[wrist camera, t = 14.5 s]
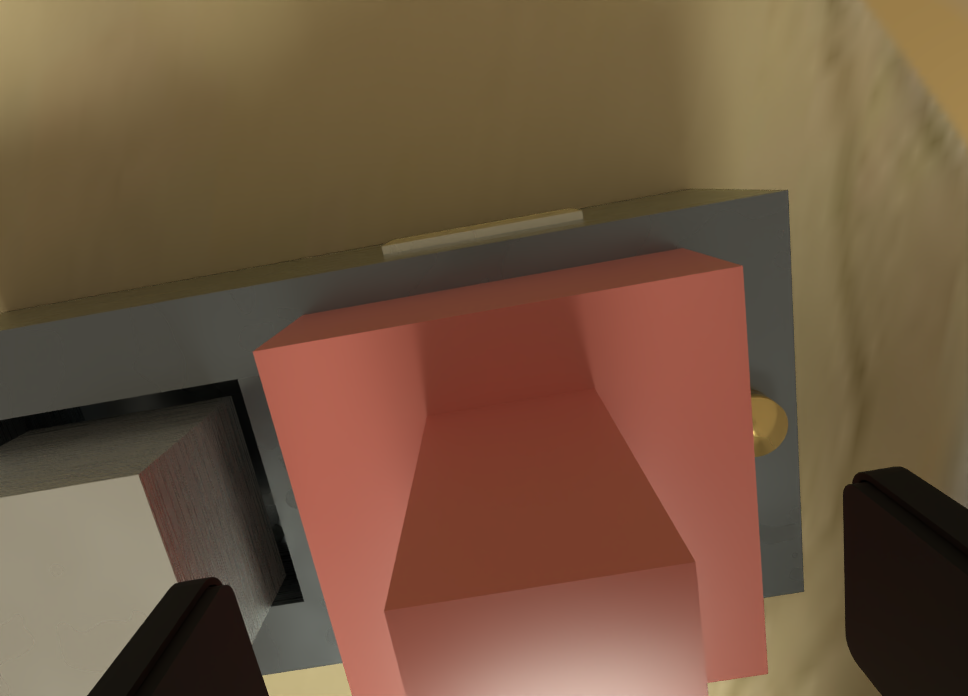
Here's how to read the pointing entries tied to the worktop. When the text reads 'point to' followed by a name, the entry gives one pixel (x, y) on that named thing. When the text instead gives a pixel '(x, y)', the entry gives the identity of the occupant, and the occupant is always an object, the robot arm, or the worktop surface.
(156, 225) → the worktop surface
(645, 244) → the panel
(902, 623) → the robot arm
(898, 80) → the worktop surface
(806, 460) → the worktop surface
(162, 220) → the worktop surface
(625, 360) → the cap
